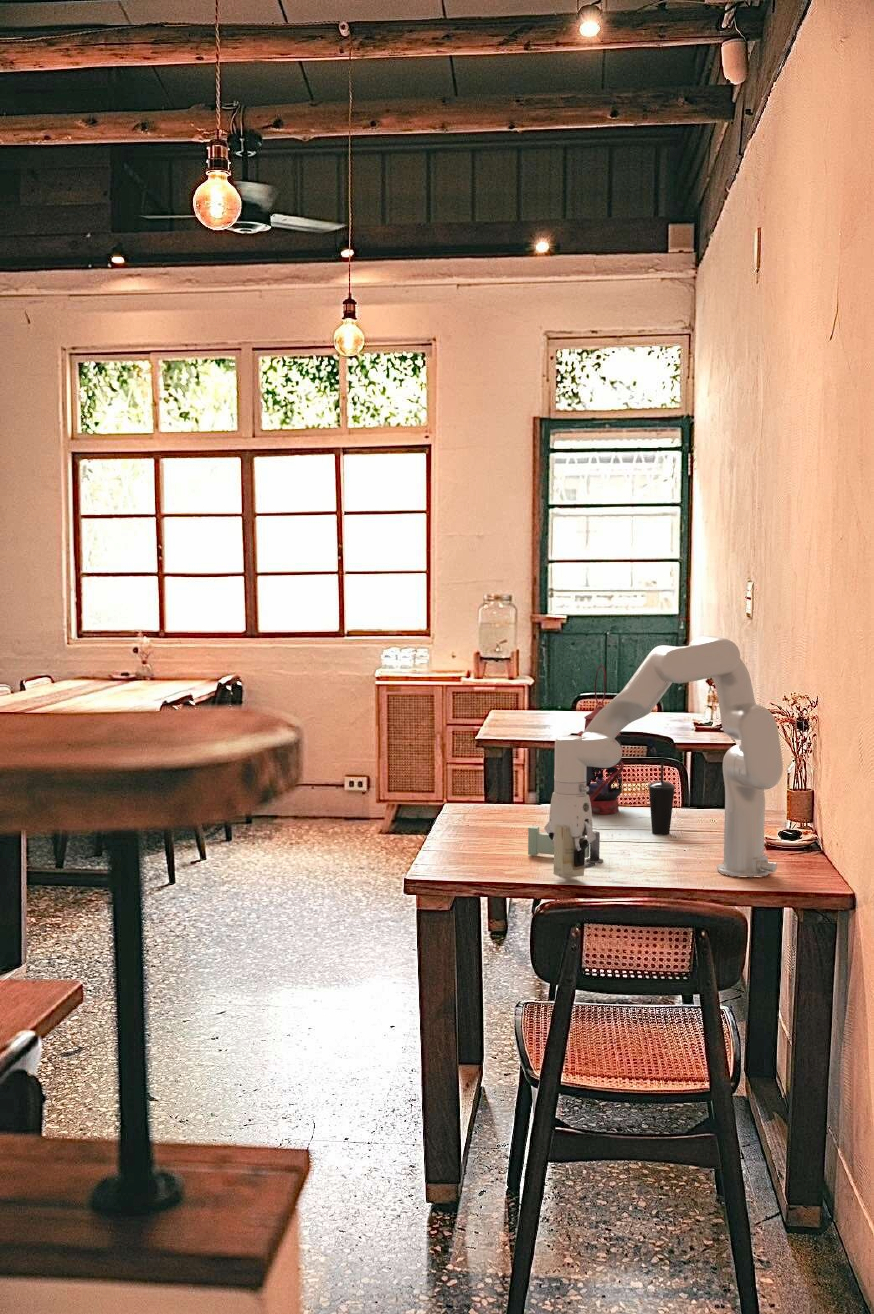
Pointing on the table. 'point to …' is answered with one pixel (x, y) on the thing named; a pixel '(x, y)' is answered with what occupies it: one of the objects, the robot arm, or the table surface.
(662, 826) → the drinking cup
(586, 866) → the latch post
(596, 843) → the dark grey rounded knob
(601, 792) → the lantern
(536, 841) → the gate
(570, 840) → the skincare box
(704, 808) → the table surface
